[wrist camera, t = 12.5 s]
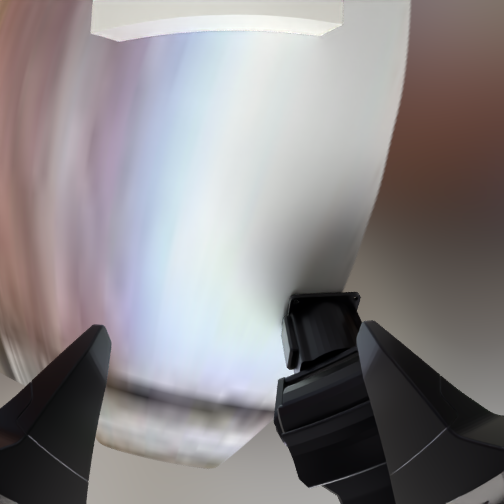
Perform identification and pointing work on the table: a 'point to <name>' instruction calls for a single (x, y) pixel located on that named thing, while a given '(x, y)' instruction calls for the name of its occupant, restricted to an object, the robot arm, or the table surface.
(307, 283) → the table surface
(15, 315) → the table surface
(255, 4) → the socket block
